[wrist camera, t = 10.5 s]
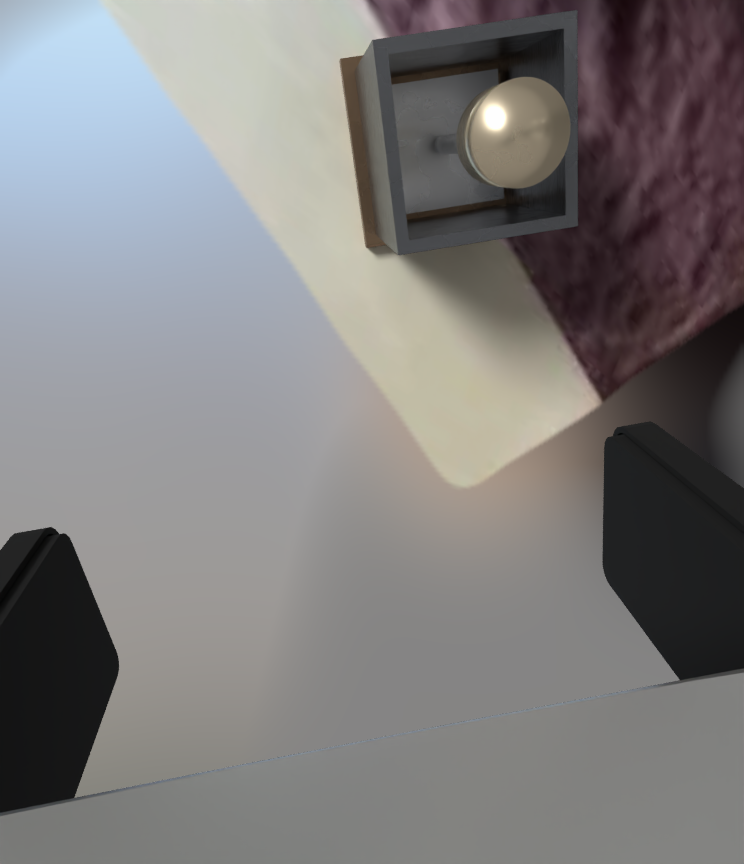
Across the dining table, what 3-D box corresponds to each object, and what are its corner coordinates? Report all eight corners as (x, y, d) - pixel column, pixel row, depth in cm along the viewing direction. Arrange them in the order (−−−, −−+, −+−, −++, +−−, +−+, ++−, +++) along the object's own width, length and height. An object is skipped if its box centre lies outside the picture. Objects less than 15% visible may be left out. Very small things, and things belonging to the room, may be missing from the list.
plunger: (494, 70, 41) (612, 13, 25) (500, 197, 44) (608, 215, 29) (375, 88, 41) (422, 41, 25) (391, 215, 44) (440, 243, 28)
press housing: (515, 35, 41) (592, -12, 30) (522, 221, 46) (591, 238, 35) (339, 61, 41) (353, 23, 30) (365, 246, 46) (386, 271, 35)
